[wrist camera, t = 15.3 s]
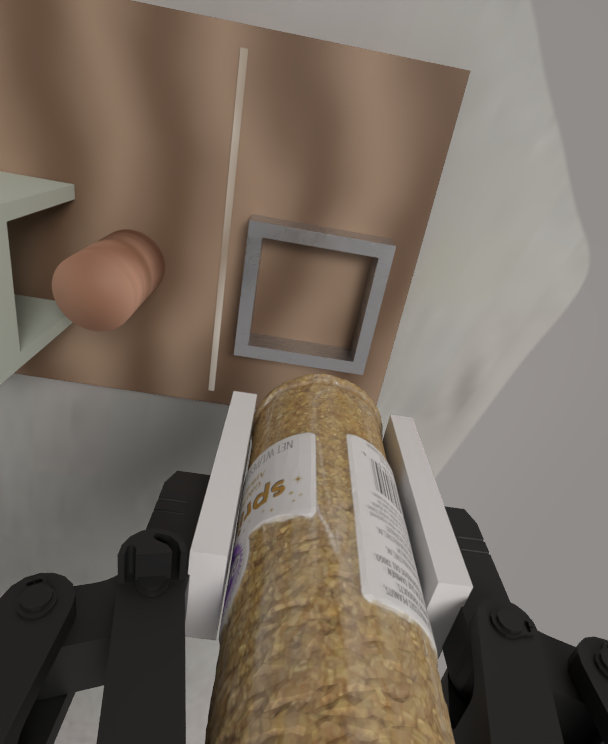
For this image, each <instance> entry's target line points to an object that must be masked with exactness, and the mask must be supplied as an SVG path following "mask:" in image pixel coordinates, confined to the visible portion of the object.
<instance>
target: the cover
mask: <svg viewBox="0 0 608 744" xmlns="http://www.w3.org/2000/svg"><path fill="white" fill-rule="evenodd" d="M74 199H75V187H74V184H69V183H64V182H58V181H53V180H47V179H41V178H36V177H30V176H24V175H19V174H13V173H8V172H2V171H0V384H2V383H3V382H4V381H5V380H6V379H7V378H9V377H10V376H11V375H12V374H13V373H14V372H16V371H17V370H18V369H19V368H20V367H21V366H23V365H24V364H25V363H26V362H27V361H28V360H30V359H31V358H32V357H33V356H34V355H35V354H37V353H38V352H39V351H40V350H41V349H43V348H44V347H45V346H46V345H47V344H48V343H50V342H51V341H52V340H53V339H54V338H55V337H57V336H58V335H59V334H60V333H61V332H62V331H64V330H65V329H66V328H67V327H68V326H69V325H71V324H72V323H73V322H72V321H71V320H69V319H68V318H67V317H66V316H65V315H64V314H63V313H62V311H61V310H60V309H59V307H58V305H57V304H56V301H54V300H48V299H42V298H35V297H29V296H23V295H16V294H14V287H13V278H12V269H11V259H10V250H9V240H8V231H7V221H10V220H13V219H16V218H19V217H22V216H25V215H28V214H31V213H34V212H38V211H41V210H44V209H47V208H50V207H53V206H56V205H59V204H62V203H65V202H68V201H71V200H74Z"/></svg>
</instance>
